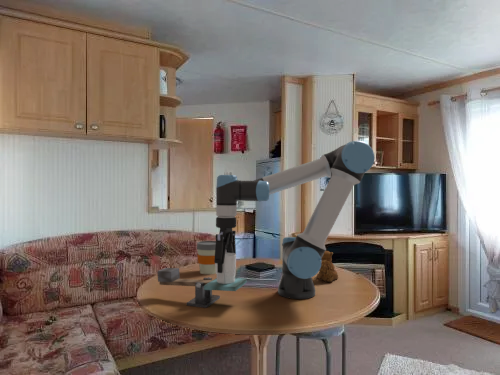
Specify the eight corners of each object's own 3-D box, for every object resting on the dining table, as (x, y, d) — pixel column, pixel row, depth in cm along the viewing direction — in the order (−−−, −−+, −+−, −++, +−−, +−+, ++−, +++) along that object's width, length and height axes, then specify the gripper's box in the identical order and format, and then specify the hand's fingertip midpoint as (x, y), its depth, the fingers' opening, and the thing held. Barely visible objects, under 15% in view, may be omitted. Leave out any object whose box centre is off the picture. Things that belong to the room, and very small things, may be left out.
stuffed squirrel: (338, 276, 173) (338, 249, 173) (337, 284, 160) (337, 255, 160) (317, 275, 176) (317, 248, 176) (314, 282, 162) (315, 253, 162)
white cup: (238, 279, 135) (238, 252, 135) (233, 284, 127) (233, 256, 127) (218, 278, 136) (218, 252, 136) (212, 284, 128) (211, 256, 129)
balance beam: (246, 282, 135) (246, 267, 135) (235, 291, 124) (234, 275, 124) (170, 279, 146) (169, 266, 146) (153, 287, 134) (153, 272, 135)
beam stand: (219, 298, 139) (219, 277, 139) (206, 307, 127) (206, 285, 127) (201, 296, 141) (201, 275, 141) (186, 305, 130) (186, 283, 130)
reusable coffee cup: (200, 269, 188) (200, 240, 188) (223, 269, 186) (223, 241, 186) (193, 274, 176) (193, 244, 176) (218, 275, 174) (218, 245, 174)
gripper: (227, 214, 142) (226, 271, 143) (204, 218, 123) (203, 284, 123) (245, 215, 140) (244, 273, 140) (224, 219, 121) (223, 286, 121)
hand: (225, 278), depth 132 cm, fingers closed on white cup, 8 cm apart
